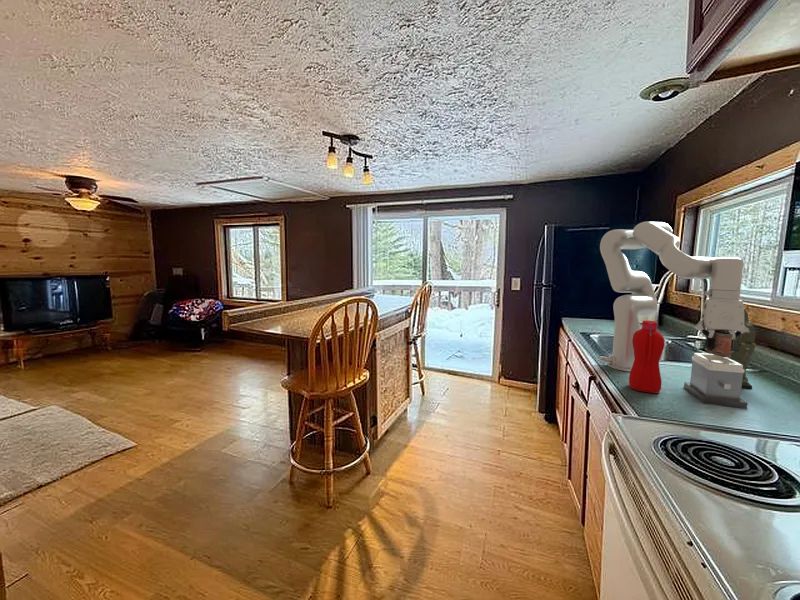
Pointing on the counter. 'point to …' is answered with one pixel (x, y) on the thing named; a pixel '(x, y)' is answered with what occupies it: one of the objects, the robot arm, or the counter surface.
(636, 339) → the water bottle
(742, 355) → the mechanical leg
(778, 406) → the counter surface
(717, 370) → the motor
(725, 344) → the lighter
